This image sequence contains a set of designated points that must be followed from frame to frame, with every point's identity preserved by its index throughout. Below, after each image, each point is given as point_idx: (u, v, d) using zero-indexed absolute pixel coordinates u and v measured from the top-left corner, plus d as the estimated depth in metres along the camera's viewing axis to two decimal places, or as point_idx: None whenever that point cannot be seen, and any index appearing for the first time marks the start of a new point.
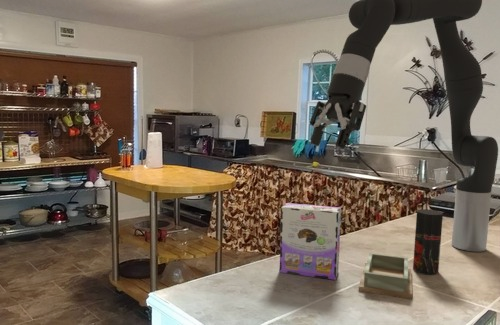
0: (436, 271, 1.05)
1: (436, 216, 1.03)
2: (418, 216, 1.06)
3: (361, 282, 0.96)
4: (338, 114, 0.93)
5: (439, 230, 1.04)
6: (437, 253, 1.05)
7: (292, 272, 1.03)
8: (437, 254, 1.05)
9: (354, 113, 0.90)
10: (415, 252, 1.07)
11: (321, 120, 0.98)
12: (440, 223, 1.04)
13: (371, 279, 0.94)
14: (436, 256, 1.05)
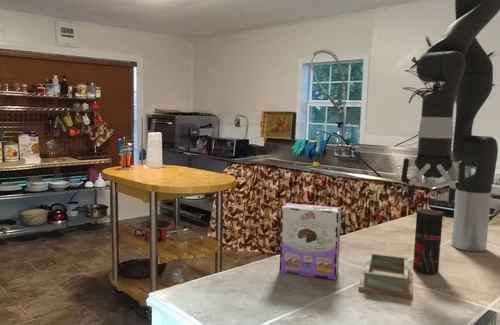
0: (436, 271, 1.05)
1: (436, 216, 1.03)
2: (418, 216, 1.06)
3: (361, 282, 0.96)
4: (444, 175, 1.03)
5: (439, 230, 1.04)
6: (437, 253, 1.05)
7: (292, 272, 1.03)
8: (437, 254, 1.05)
9: (463, 174, 1.02)
10: (415, 252, 1.07)
11: (418, 178, 1.05)
12: (440, 223, 1.04)
13: (371, 279, 0.94)
14: (436, 256, 1.05)
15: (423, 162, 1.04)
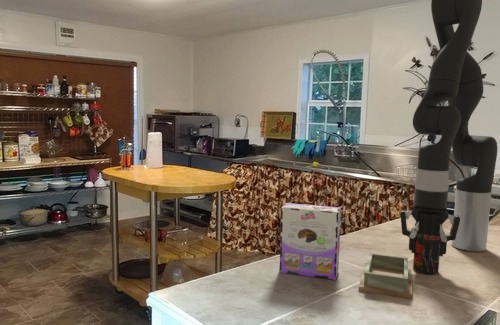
0: (436, 271, 1.05)
1: (436, 216, 1.03)
2: (418, 216, 1.06)
3: (361, 282, 0.96)
4: None
5: (439, 230, 1.04)
6: (437, 253, 1.05)
7: (292, 272, 1.03)
8: (437, 254, 1.05)
9: (456, 229, 1.03)
10: (415, 252, 1.07)
11: None
12: (440, 223, 1.04)
13: (371, 279, 0.94)
14: (436, 256, 1.05)
15: None
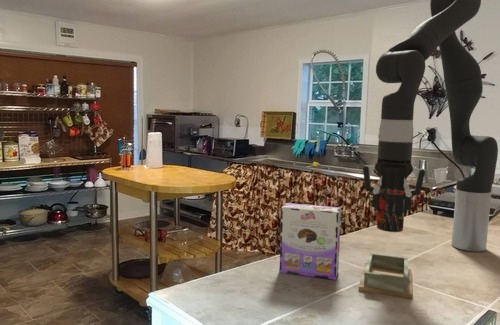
0: (400, 228, 0.99)
1: (400, 169, 0.97)
2: (381, 170, 0.99)
3: (361, 282, 0.96)
4: None
5: (403, 184, 0.98)
6: (401, 209, 0.98)
7: (292, 272, 1.03)
8: (401, 210, 0.98)
9: (421, 182, 0.97)
10: (378, 209, 1.01)
11: None
12: None
13: (371, 279, 0.94)
14: (400, 212, 0.98)
15: None
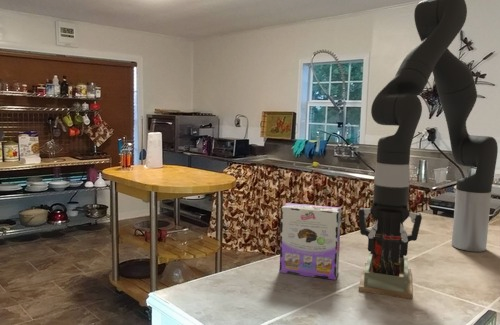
0: (396, 274, 0.97)
1: (396, 214, 0.94)
2: (377, 214, 0.97)
3: (361, 282, 0.96)
4: None
5: (399, 229, 0.95)
6: (397, 254, 0.96)
7: (292, 272, 1.03)
8: (398, 256, 0.96)
9: (417, 228, 0.95)
10: (374, 254, 0.98)
11: None
12: (400, 222, 0.95)
13: (371, 279, 0.94)
14: (396, 258, 0.96)
15: None
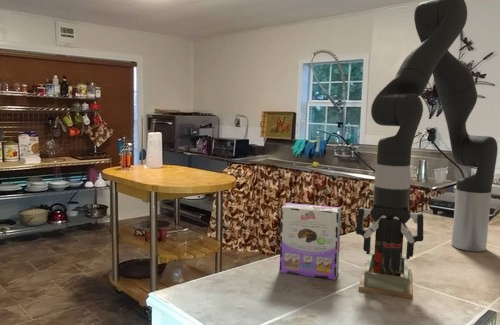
0: None
1: (396, 222, 0.93)
2: None
3: (361, 282, 0.96)
4: (401, 228, 0.93)
5: (400, 237, 0.94)
6: (398, 263, 0.94)
7: (292, 272, 1.03)
8: (398, 264, 0.94)
9: (421, 228, 0.92)
10: (374, 262, 0.97)
11: None
12: None
13: (371, 279, 0.94)
14: (397, 266, 0.94)
15: (379, 213, 0.95)
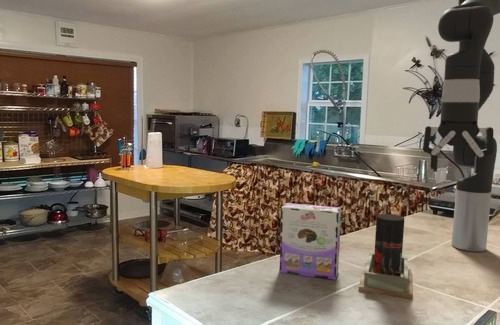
0: None
1: (396, 222, 0.93)
2: (377, 221, 0.95)
3: (361, 282, 0.96)
4: (470, 142, 0.94)
5: (400, 237, 0.94)
6: (398, 263, 0.94)
7: (292, 272, 1.03)
8: (398, 264, 0.94)
9: (491, 141, 0.93)
10: (374, 262, 0.97)
11: (442, 147, 0.97)
12: (401, 229, 0.94)
13: (371, 279, 0.94)
14: (397, 266, 0.94)
15: (447, 129, 0.96)
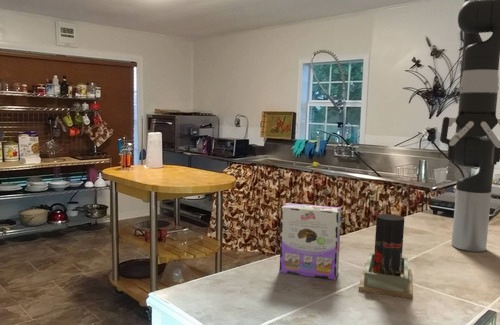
0: None
1: (396, 222, 0.93)
2: (377, 221, 0.95)
3: (361, 282, 0.96)
4: (488, 133, 0.95)
5: (400, 237, 0.94)
6: (398, 263, 0.94)
7: (292, 272, 1.03)
8: (398, 264, 0.94)
9: None
10: (374, 262, 0.97)
11: (460, 138, 0.97)
12: (401, 229, 0.94)
13: (371, 279, 0.94)
14: (397, 266, 0.94)
15: (465, 120, 0.97)
